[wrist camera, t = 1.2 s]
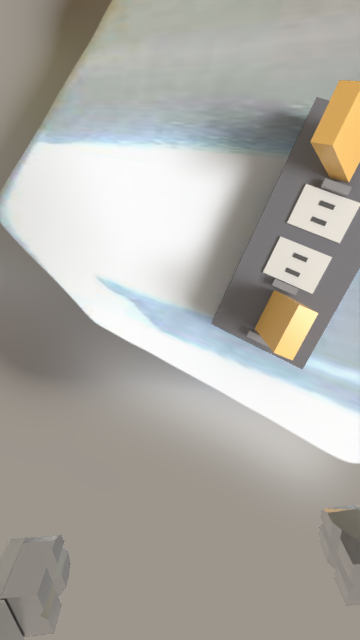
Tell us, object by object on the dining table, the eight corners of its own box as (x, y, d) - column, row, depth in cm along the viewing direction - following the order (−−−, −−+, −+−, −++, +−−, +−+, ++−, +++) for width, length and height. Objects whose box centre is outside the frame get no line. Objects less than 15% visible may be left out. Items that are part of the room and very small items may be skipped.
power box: (313, 119, 39) (317, 90, 33) (416, 151, 36) (441, 125, 30) (219, 319, 45) (208, 324, 39) (300, 359, 42) (302, 372, 36)
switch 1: (274, 289, 37) (299, 304, 29) (289, 296, 37) (318, 313, 29) (254, 328, 38) (273, 352, 30) (269, 334, 38) (292, 360, 30)
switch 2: (354, 130, 33) (339, 80, 27) (374, 133, 32) (364, 81, 26) (330, 178, 34) (310, 141, 28) (349, 182, 33) (332, 145, 27)
